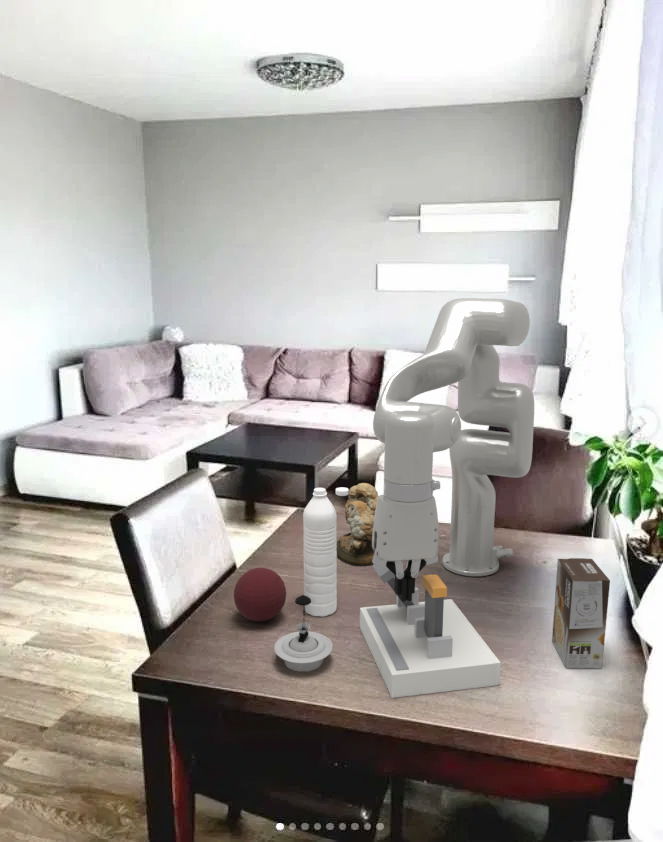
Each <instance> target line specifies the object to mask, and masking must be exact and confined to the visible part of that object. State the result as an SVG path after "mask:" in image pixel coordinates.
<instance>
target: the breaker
mask: <svg viewBox="0 0 663 842" xmlns="http://www.w3.org/2000/svg"><path fill="white" fill-rule="evenodd" d="M372 567H373V569H374V570H375V572H376V573H377V575H378V577H379V579H380V580H381V581H382V582H383V584H384V585H385V584H386V583H387V584H388V585H389V587H390V588H391V589H392V591H393V592H394V593H395V591H394V581H395V575H394V574H393V573H392V572H391V571H390V570H389V569H388V568H382V567H376V566H375V565H372ZM397 596H398V595H396V597H397ZM399 599H400V598H399ZM402 603H403V604H404V605H405V606H406V608H407V606H410V605H415V604H414V603H413V601H407V600H406V601H405V602H402Z"/></svg>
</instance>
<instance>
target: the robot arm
mask: <svg viewBox="0 0 663 842" xmlns="http://www.w3.org/2000/svg"><path fill="white" fill-rule="evenodd" d="M529 313H530V312H529V311H528V308H527V307H526V305H525V304H524V303H522V302H520V301H514V300H510V299H505V298H504V299H503V298H473V297H472V298H471V297H470V298H469V297H468V298H466V297H463V298H455V299H452V300H450V301H447V302H446V303H445V304H443V306H442V307H441V308H440V310H439V313H438V315H437V319H436V321H435V323H434V326H433V328H432V332H431V334H430V337H429V339H428V342H427V345H426V348H425V351H424V353H423V354H422V355H420V356H418V357H417V358H415V359H413V360H412V361H410V362H409V363H407V364H406V365H404V366H403V367H402V368H400V369H399V370H397V371H396V372H395V373H394V374H393V375H392V376H391V377H390V378H389V379H388V381H387V382H386V384H385V386H384V388H383V389H382V393H381V394H380V398H379V399H378V403H377V405H376V408H375V411H374V415H373V420H372V421H373V422H372V428H373V433H374V435H375V437H376V439H377V440H378V441H379V442H381V444H384V459H383V460H384V462H383V463H384V465H383V466H384V467H383V494H380V495H378V496H379V497H378V500H377V505H376V510H375V516H374V525H373V535H372V548H373V550H374V551H375V552H374V556H373V560H372V562H373V564H374V565H375V566H376V567H382V568H388V569H389V570H390V571H391V572H392V573H393V574H394V575H395V576H394V577H395V581H394V591H395V592H394V591H393V592H394V594H395V595H396V596H397V595H398V597H399V598H400V600H401V601H402V602H405V601H406V600H407V601H412V594H414V593H415V587H416V578H417V577H418V575H419V573H420V572H421V571H422V570H423V569H424V568H425V567H426V566H428V565H432V564H435V563H438V561H439V557H438V554H439V549H440V548H439V547H440V531H439V530H440V529H439V526H440V525H439V515H438V509H437V503H436V502H437V501H436V498H435V496H434V491H436V490H440V489H441V481H440V480H434V479H433V467H434V466H433V465H434V463H433V461H434V453H436V452H439V453H440V452H443V451H446V450H449V459H450V460H449V461H450V465H451V466H450V467H451V468H450V469H451V479H452V480H451V487H452V488H451V507H450V508H451V511H450V512H451V515H450V532H449V533H450V538H449V539H450V540H449V552H447V553H445V554H444V555H443V556H442V562H441V563H442V565H443V567H444V568H445V569H447V570H448V571H449V572H452V573H454V574H456V575H461V576H466V577H486V576H487V577H488V576H489V575H492V574H494V573H496V572H498V570H499V568H500V562H499V560H500V559H501V558H511V557H512V558H513V556H514V551H513V548H511V547H509V548H504V547H503V545H495V546H494V536H495V535H494V534H495V531H494V530H495V516H496V515H495V513H496V497H497V496H496V494H497V493H496V489H495V487H494V485H493V482H491V479H490V478H489V476H497V477H498V476H499V477H505V478H517V479H518V478H523V477H525V476H526V475H527V474H528V473H529V472H530V469H531V466H532V460H533V449H534V448H533V446H534V445H533V443H534V426H535V398H534V393H533V391H532V389H531V388H530V387H529V385H526V384H523V383H518V382H505V381H501V380H500V364H501V363H500V362H501V360H500V356H499V353H498V351H497V350H496V348H495V346H506V347H518V346H520V345H522V344H523V343H524V342H525V340H526V339H527V337H528V335H529V330H530V326H531V325H530V322H531V319H530V314H529ZM453 384H457V410H458V412H457V411H456V410H455V409H454V408H453V407H451V406H448V405H443V404H435V403H434V404H433V403H423V402H413V401H410V400H412V399H413V398H415V397H416V396H419V395H420V394H424V393H426V392H427V393H428V392H430V391H434V390H438V389H441V388H445V387H447V386H450V385H453ZM462 421H463V422H465V423H467V424H471V425H476V426H477V425H478V426H487V427H499V428H500V427H501V428H506V429H507V430H508V431H509V432H506V431H505V432H504V431H498V430H497V431H495V430H488V429H477V428H468V429H467V428H466V429H465V428H464V429H462V423H461V422H462ZM404 561H407V562H406V566H405V569H404V565H403V564H404V563H403V562H404Z"/></svg>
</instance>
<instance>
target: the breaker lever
mask: <svg viewBox="0 0 663 842" xmlns="http://www.w3.org/2000/svg"><path fill="white" fill-rule="evenodd" d="M422 586H423V587H424V588H425V591H424V602H425V618H424V631H425V634H426V636H427V637H428V638H431V637H441V636H442V632H443V606H444V600H445V598H446V597H448V596H447V595H448V587H447V586H446V584H445V583H444V582H443V580H442V579H441V578H440V576H439V575H438V574H435V573H434V574H425V575H424V574H423V575H422Z"/></svg>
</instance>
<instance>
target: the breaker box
mask: <svg viewBox="0 0 663 842" xmlns="http://www.w3.org/2000/svg"><path fill="white" fill-rule="evenodd" d="M419 594H420V589H419V587H416V586H415V593H414V594H412V601H413V603H414V604H415V605H410V606H407V608H406V606H405V605H404V604H403V603H402V601H401V600H400V599H399V597H398V596H397V595H396V603H395V604H386V605H376V606H375V605H374V606H364V607H360V608H359V629H360V631H361V633H362V636H363V637H364V640H365V641H366V644H367V646H368V648H369V651H370V652H371V655H372V657H373V660H374V662H375V663H376V666H377V669H378V670H379V673H380V675H381V678H382V680H383V682H384V684H385V686H386V689H387V688H388V689H387V692H388V693H389V695H390V697H391V699H394V698H403V697H412V696H419V695H420V694H421V695H429V694H435V693H436V694H437V693H438V694H439V693H445V692H452V691H453V692H454V691H461V690H469V689H477V688H479V689H480V688H486V687H494V686H500V681H501V679H500V678H501V664H502V663H501V661H500V660H499V658H498V657H497V656H496V655H495V653H494V652H493V651H492V650H491V648H490V647H489V645H488V644H487V643H486V642H485V641H484V639H483V638H482V637H481V635H480V634H479V633H478V631H477V630H476V629H475V628H474V626H473V625H472V624H471V622H470V621H469V619H468V618H467V617H466V616H465V614H464V613H462V611H461V609H460V608H459V606H458V605H457V604H456V603H455V601H454V600H453V599H452V598H450V599H448V598H447V599H444V606H443V632H442V636H441V637H431V638H428V637H427V636H426V634H425V631H424V618H425V601H419V600H420V599H419V598H420V597H419V596H420V595H419ZM421 695H420V696H421Z"/></svg>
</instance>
